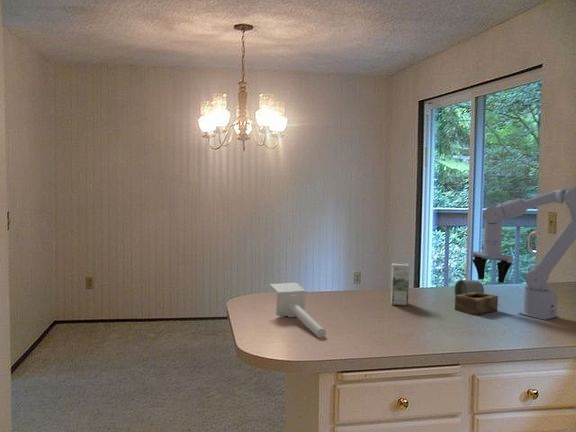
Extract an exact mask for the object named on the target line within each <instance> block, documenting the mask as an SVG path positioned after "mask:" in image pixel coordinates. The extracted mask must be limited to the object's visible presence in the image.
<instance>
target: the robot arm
mask: <svg viewBox="0 0 576 432" xmlns="http://www.w3.org/2000/svg"><path fill="white" fill-rule="evenodd" d="M551 203H554V204H555V203H556V204H560V205H562V204H565V205H566V207H567V208H568V210H569V213H570V217H571V220H570V221H569V223H567V224H566V227H564V229H563V231H562V232H561V233H560V234H559V236H558V237H557V238H556V240H555V241H554V242H553V244H552V245H551V247H550V248H549V249H548V251H547V252H546V253H545V254H544V255H543V257H542V258H541V259H540V261H539V262H538V264H537V265H535V266H533V267H532V268H530V269H529V271H528V272H527V273H526V275H525V278H524V280H525V283H526V284H525V285H524V295H523V296H524V297H523V299H524V300H523V310H522V311H517V314H519V315H522V316H527V317H531V318H535V319H540V320H548V319H553V318H557V317H558V314H557V311H558V309H557V307H558V295H557V293H556V292H555V291H553V290H550V287H549V286H548V285H547V282H548V280H549V278H550V277H549V275H550V274H551V273H552V272H553V270H554V268H555V267H556V266H557V265H558V263H559V262H560V261H561V259H562V258H563V257H564V256H565V254H566V253H567V251H568V250H569V249H570V247H571V246H572V245H573V243H574V242H575V241H576V186H574V187H569V188H562V189H556V190H552V191H549V192H546V193H543V194H540V195H537V196H534V197H531V198H528V199H523V198H520V197H517V198H516V197H511V198H510V200H508V201H505V202H497V203H496V205H489V206H488V207H487V208H485V210H484V211H483V218H484V227H483V245H482V246H483V248H482V249H483V251H472V252H471V258H473V259H471V260H472V263H473V264H474V267H475V269H476V273H477V278H478V280H484V279H485V272H486V271H485V270H486V265H487V262H488V260H491V261H497V262H496V266H497V272H498V273H497V282H498V283H499V284H504V283H505V279H506V275H507V273H508V271H509V270H510V268H511V266H512V265H513V263H514V256H511V255H507V254H503V253H502V237H503V235H502V234H503V227H502V226H503V225H502V224H503V223H502V220H505V221H506V220H510V219H513V218H516V217H519V216H523V215H525V214H526V213H527V211H528V210H529V209H532V208H533V209H534V208H537V207H541V206H544V205H547V204H551Z"/></svg>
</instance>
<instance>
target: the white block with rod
mask: <svg viewBox="0 0 576 432" xmlns="http://www.w3.org/2000/svg"><path fill="white" fill-rule="evenodd" d="M269 288H271V289H272V290H273V291H274V292H276V304H275V305H276V308H275V315H276V316H278V318H280V317H281V318H285V317H284V316H288V317H287V318H294V317H295V318H296V317H297V318H298V319H299V320H300V321H301V322H302V324H304V325H305V326H306V327H307V328H308V329H309V330H310V331H311V332H312V333H313V334H314V335H315V336H316V337H317V338H325V337H326V335H327V331H326V330H325V328H323V326H322V325H320V323H318V322H317V321H316V320H315V319H314V318H313V317H312V316H311V315H309V313H308V312H307V311H306V310H305V308H306V307H305V305H306V294H307V292H306V290H305V288H303V287H302V285H300V284H298V283H297V282H288V283H287V282H286V283H269Z"/></svg>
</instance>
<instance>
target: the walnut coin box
mask: <svg viewBox="0 0 576 432" xmlns="http://www.w3.org/2000/svg"><path fill="white" fill-rule="evenodd" d="M454 296H455V297H454V310H455V311H458V310H459V312H462V311H463V312H462V313H466V312H467V313H468V314H470V313H471V315H475V316H480V315H485V314H490V313H493V312H498V306H499V304H498V301H499V297H498V295H494V294H488V293H485V292H484V293H480V292H470V293H465V294H459V295H455V294H454ZM473 297H478V298H473ZM467 313H466V314H467Z"/></svg>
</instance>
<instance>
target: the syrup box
mask: <svg viewBox="0 0 576 432" xmlns="http://www.w3.org/2000/svg"><path fill="white" fill-rule="evenodd" d="M390 277H391V278H390V303H391V306H402V307H403V306H405V307H406V306H409V288H410V287H409V285H410V265H409V263H408V262H391V276H390Z"/></svg>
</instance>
